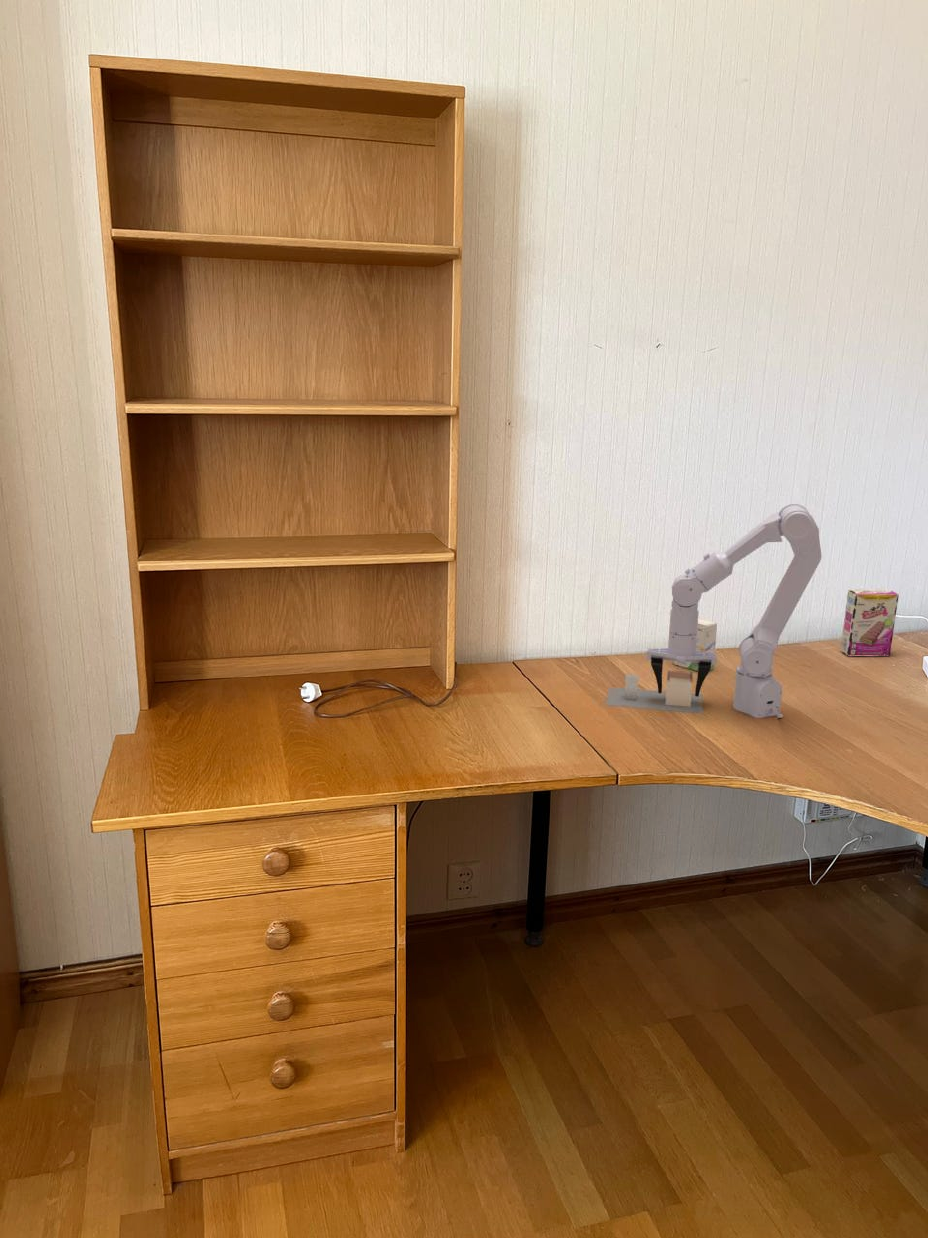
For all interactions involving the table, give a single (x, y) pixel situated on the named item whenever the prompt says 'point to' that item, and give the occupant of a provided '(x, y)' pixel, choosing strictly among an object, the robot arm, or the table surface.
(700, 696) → the board
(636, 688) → the post
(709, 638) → the ink box
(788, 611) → the robot arm
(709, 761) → the table surface
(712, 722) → the table surface
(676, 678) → the peach bevelled cube
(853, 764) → the table surface
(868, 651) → the candy bar box
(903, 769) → the table surface
